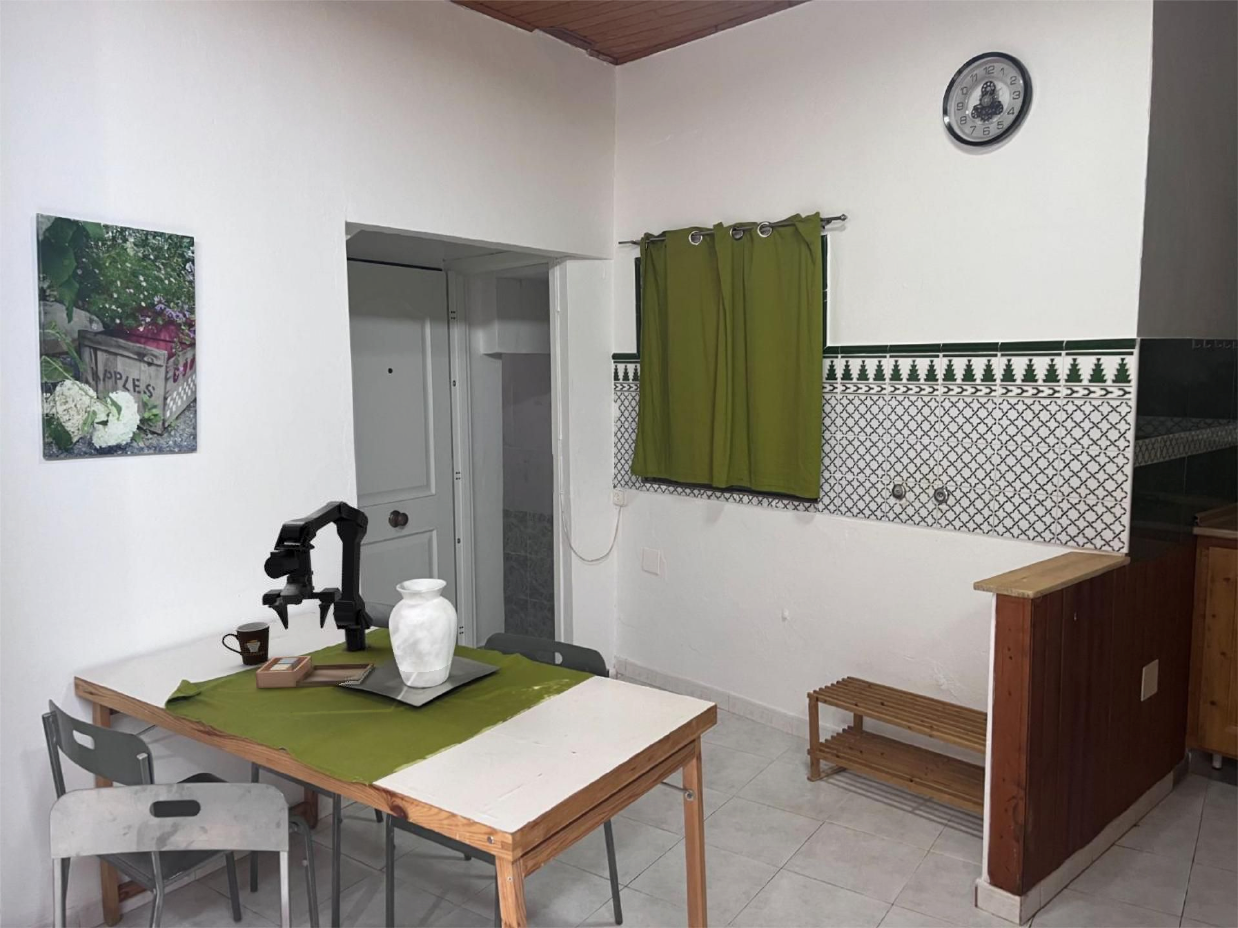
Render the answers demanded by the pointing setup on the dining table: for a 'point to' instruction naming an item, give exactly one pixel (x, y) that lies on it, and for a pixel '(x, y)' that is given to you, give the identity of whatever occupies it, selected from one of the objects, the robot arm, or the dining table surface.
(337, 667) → the parts tray
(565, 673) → the dining table surface
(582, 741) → the dining table surface
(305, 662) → the pink storage bin
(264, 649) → the coffee mug
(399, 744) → the dining table surface
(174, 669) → the dining table surface
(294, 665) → the pale grey matte cube
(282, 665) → the beige cube
